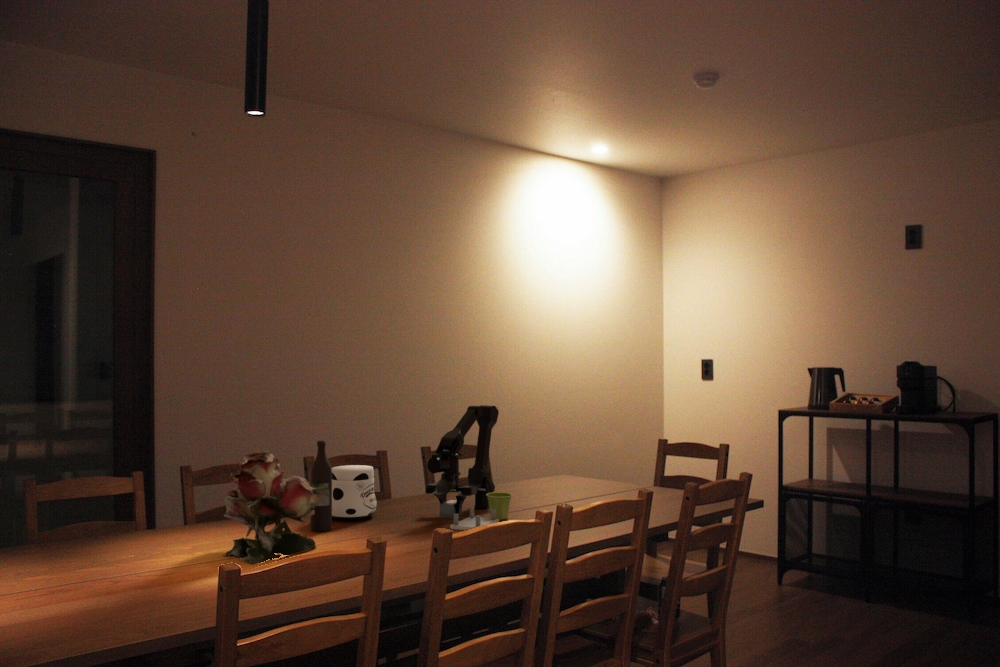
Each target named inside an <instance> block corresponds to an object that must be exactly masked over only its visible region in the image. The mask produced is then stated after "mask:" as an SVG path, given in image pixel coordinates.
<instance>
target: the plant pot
mask: <svg viewBox="0 0 1000 667" xmlns="http://www.w3.org/2000/svg"><path fill="white" fill-rule="evenodd" d="M486 496H487V497H488V501H489V508H488V509H489V514H490V515H489V516H490V517H489V518H491V509H496V519H499V521H503V520H508V517H509V510H510V503H511V500H512V497H513V494H512V493H510V492H503V491H499V492H498V491H496V492H495V491H494V492H492V493H488V494H486Z"/></svg>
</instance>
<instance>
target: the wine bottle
mask: <svg viewBox="0 0 1000 667" xmlns="http://www.w3.org/2000/svg"><path fill="white" fill-rule="evenodd" d="M326 445H327V442H326V440H324V439H322V440H317V441H316V446H317V452H316V456H315V459H314V461H313V463H312V466H311V468H310V469H311V470H310V487H312V488H315V490H312V493H313V494H317V496H318V497H320V499H321V500H320V502H318V503H317V504H316V505H315V508H312V507H310V509H309V511H310V510H314V511H315V514H314V515H312V516H311V517H310V518H309V520H310V522H309V523H311V524H309V525H310V526H309V528H310V529H309V530H310V532H313V531H314V532H313V533H325V532H326V531H327V532H329V531H332V528H333V524H332V523H333V517H332V465H331V463H330V461H329V459H328V457H327V453H326ZM327 532H326V533H327Z"/></svg>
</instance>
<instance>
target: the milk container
mask: <svg viewBox="0 0 1000 667" xmlns="http://www.w3.org/2000/svg"><path fill="white" fill-rule="evenodd" d="M331 469H332V518H334V519H338V520H346V521H347V520H361V519H366V518H367V519H368V518H370V517H372V516H374V514H375V513H376V510H377V504H378V503H377V498H376V493H375V477H374V476H375V472H374V467H373V466H372V465H361V464H355V465H354V464H350V465H349V464H347V465H338V466H334V467H331Z"/></svg>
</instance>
